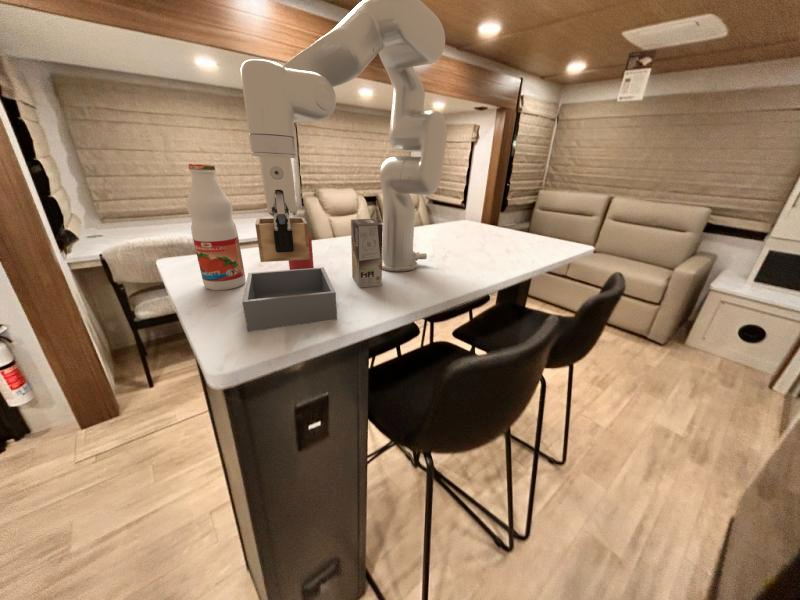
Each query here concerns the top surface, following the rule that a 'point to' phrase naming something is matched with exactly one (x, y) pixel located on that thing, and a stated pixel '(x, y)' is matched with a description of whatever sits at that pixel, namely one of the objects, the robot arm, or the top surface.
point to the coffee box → (366, 252)
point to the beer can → (303, 263)
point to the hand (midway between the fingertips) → (284, 246)
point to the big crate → (288, 298)
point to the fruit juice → (214, 231)
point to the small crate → (268, 242)
